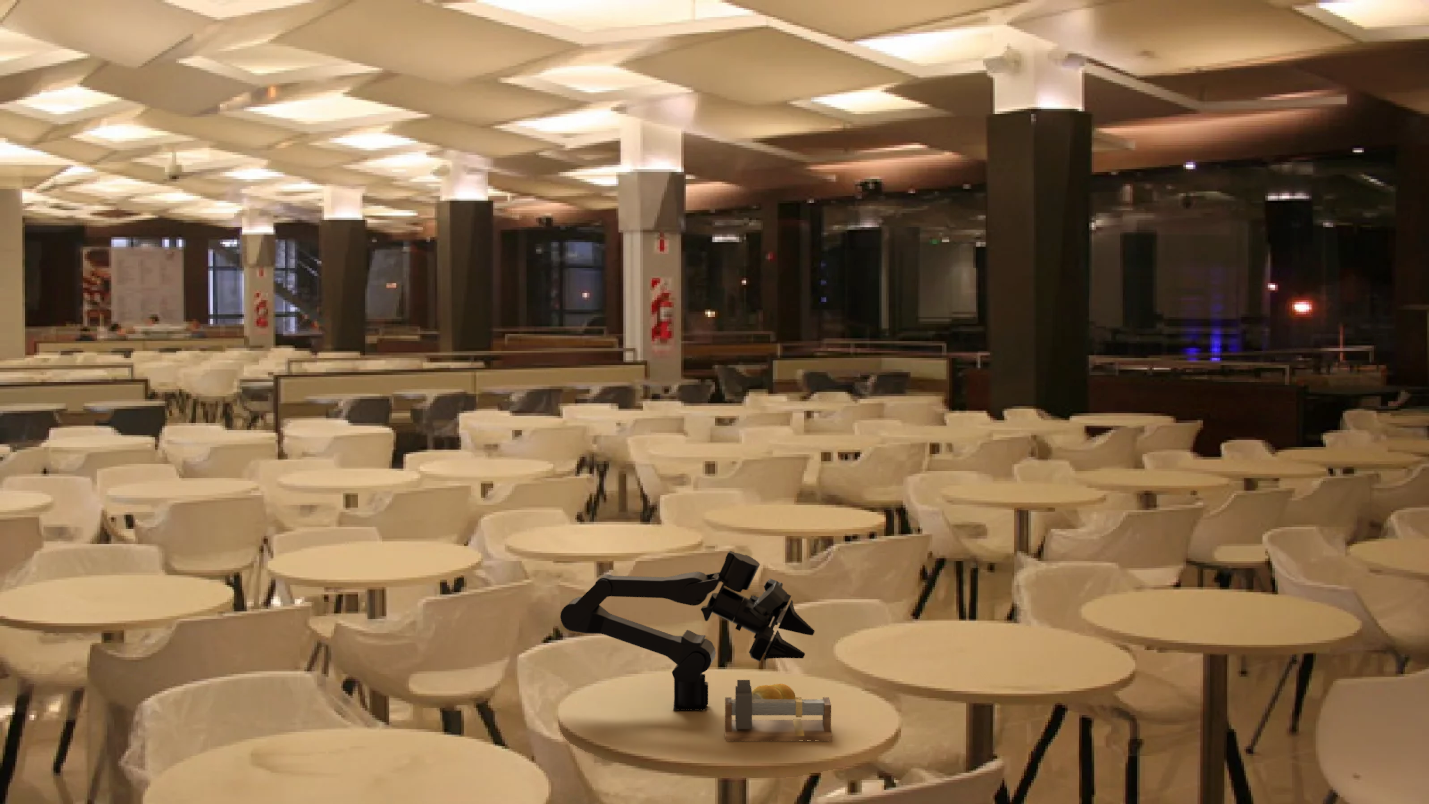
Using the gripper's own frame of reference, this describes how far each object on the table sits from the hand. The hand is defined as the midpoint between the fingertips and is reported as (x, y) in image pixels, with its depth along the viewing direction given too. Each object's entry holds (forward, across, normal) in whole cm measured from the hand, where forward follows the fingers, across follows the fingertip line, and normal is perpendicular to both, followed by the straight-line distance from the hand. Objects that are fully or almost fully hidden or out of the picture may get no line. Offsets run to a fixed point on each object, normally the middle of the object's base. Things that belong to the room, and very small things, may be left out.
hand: (809, 644), depth 289 cm
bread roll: (-1, +1, +17) cm, 17 cm away
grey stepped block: (-5, -19, +10) cm, 22 cm away
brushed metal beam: (0, -17, +7) cm, 18 cm away
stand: (+2, -18, +10) cm, 20 cm away
